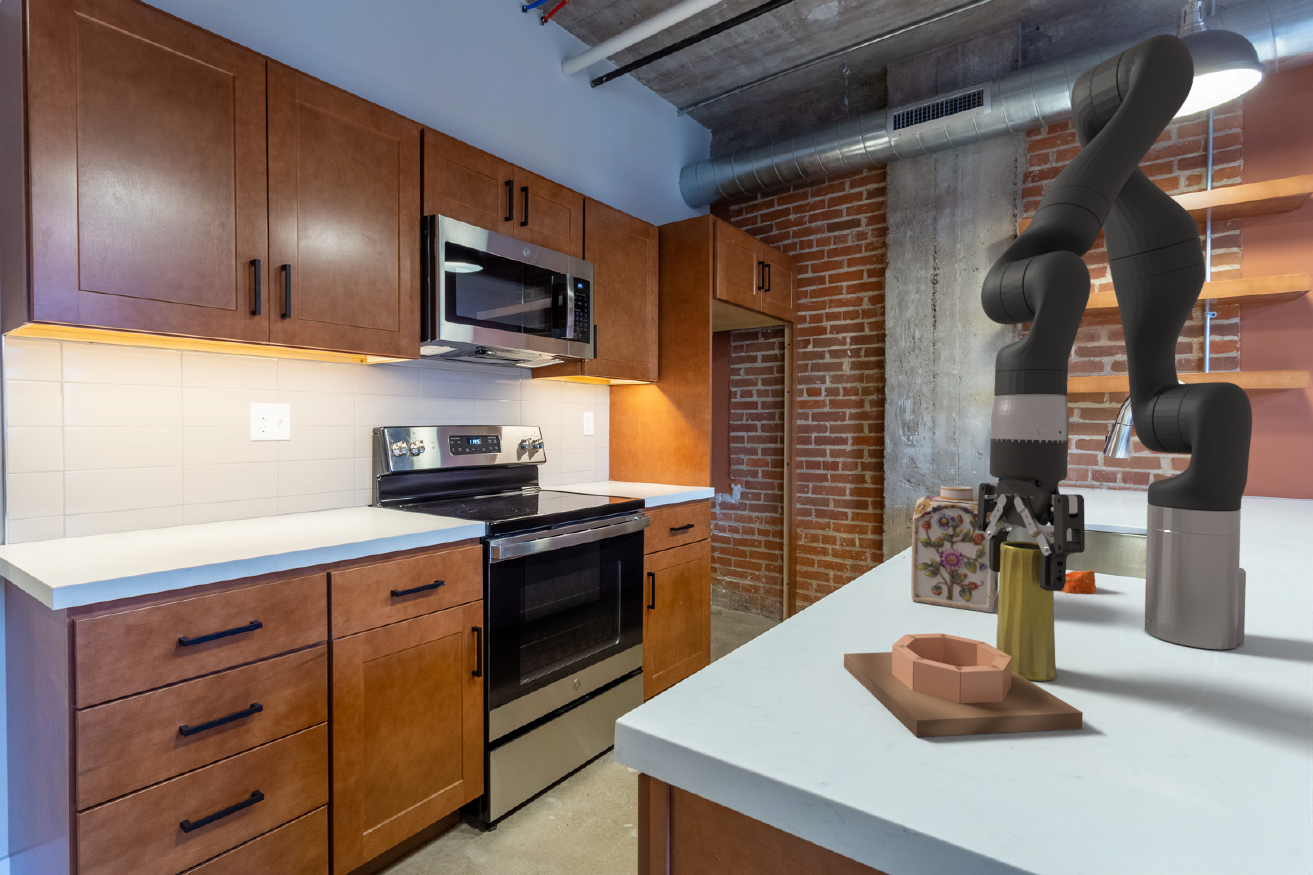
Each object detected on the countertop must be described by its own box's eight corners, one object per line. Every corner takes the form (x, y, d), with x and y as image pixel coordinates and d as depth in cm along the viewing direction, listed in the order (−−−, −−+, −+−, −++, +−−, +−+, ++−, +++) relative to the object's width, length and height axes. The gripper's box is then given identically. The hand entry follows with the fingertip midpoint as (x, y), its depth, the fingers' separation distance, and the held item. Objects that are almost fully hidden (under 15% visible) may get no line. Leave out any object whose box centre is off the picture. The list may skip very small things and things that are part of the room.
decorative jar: (909, 602, 97) (910, 487, 97) (921, 585, 107) (922, 481, 107) (996, 614, 91) (998, 492, 91) (1000, 596, 101) (1002, 485, 101)
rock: (1013, 586, 110) (1014, 562, 109) (1070, 582, 112) (1071, 559, 112) (1074, 605, 98) (1074, 579, 98) (1135, 600, 101) (1136, 574, 101)
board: (975, 661, 73) (975, 648, 73) (1082, 728, 57) (1082, 712, 57) (843, 666, 71) (844, 653, 71) (916, 736, 55) (916, 720, 55)
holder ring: (967, 658, 70) (967, 632, 70) (1032, 699, 59) (1033, 668, 59) (878, 662, 69) (878, 635, 69) (929, 704, 58) (929, 673, 58)
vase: (1066, 684, 67) (1069, 551, 66) (1004, 679, 68) (1006, 549, 68) (1043, 662, 73) (1045, 541, 72) (986, 658, 74) (988, 539, 74)
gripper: (1111, 438, 63) (1106, 597, 63) (1016, 436, 77) (1012, 565, 78) (1043, 437, 62) (1037, 598, 63) (959, 434, 77) (955, 566, 77)
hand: (1023, 580), depth 70 cm, fingers open, 8 cm apart
